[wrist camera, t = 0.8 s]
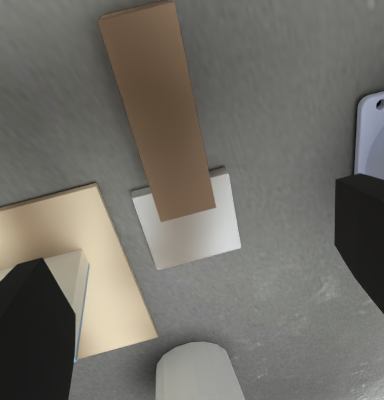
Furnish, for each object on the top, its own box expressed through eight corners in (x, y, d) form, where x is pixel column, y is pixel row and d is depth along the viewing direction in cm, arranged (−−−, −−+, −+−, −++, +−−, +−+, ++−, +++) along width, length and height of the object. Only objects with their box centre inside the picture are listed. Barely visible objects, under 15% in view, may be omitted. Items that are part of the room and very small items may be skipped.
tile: (81, 249, 19) (65, 344, 14) (89, 265, 20) (77, 361, 14) (-28, 277, 19) (-85, 384, 14) (-16, 293, 19) (-67, 400, 14)
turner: (194, -8, 14) (212, -8, 11) (237, 239, 21) (255, 280, 18) (72, 22, 14) (58, 30, 11) (156, 261, 21) (161, 306, 18)
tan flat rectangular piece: (96, 182, 18) (96, 186, 17) (157, 332, 24) (158, 337, 24) (-102, 234, 17) (-106, 239, 17) (13, 371, 24) (12, 377, 23)
